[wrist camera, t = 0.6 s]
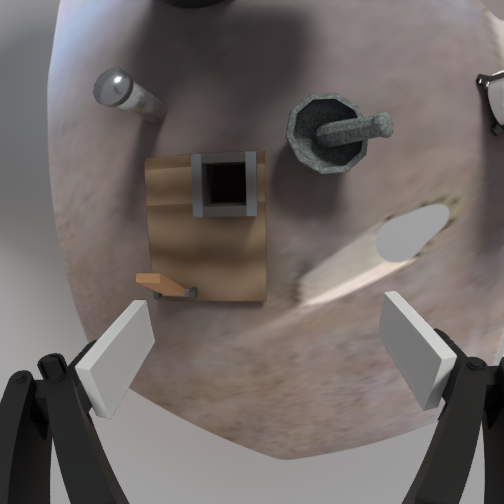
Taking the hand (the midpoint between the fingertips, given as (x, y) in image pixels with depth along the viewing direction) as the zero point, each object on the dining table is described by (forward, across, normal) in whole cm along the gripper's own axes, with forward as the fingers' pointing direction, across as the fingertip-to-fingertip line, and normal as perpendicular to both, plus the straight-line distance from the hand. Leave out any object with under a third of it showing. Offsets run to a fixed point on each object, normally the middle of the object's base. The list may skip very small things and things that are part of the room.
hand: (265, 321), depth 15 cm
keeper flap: (+19, -12, -5) cm, 23 cm away
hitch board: (+26, -8, 0) cm, 27 cm away
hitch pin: (+26, -14, +18) cm, 35 cm away
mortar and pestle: (+26, +9, +12) cm, 30 cm away
